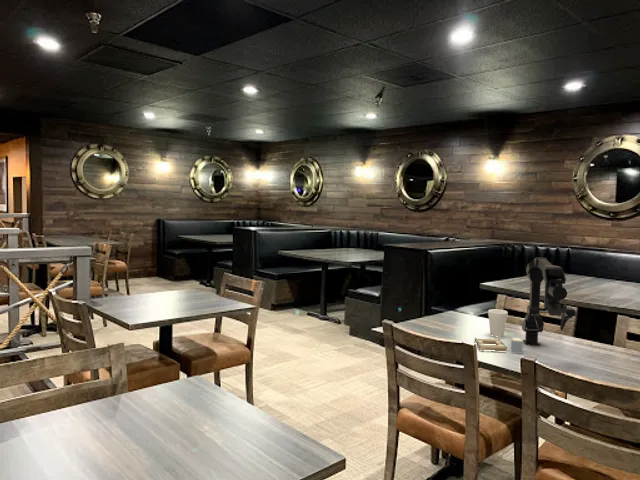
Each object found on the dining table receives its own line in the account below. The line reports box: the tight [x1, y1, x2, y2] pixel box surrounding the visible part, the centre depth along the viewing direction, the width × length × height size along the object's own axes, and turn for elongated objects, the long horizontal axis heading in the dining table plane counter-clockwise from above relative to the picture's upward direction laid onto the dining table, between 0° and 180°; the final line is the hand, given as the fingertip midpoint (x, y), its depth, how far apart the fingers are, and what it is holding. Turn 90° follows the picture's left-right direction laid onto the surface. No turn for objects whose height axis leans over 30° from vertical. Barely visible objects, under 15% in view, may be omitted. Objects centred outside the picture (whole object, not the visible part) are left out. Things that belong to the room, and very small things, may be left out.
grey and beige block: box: [510, 337, 524, 353], centre depth 227 cm, size 4×4×6 cm
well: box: [474, 337, 508, 351], centre depth 234 cm, size 14×12×2 cm
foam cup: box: [487, 308, 509, 338], centre depth 253 cm, size 10×9×13 cm
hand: (550, 330), depth 213 cm, fingers open, 9 cm apart
